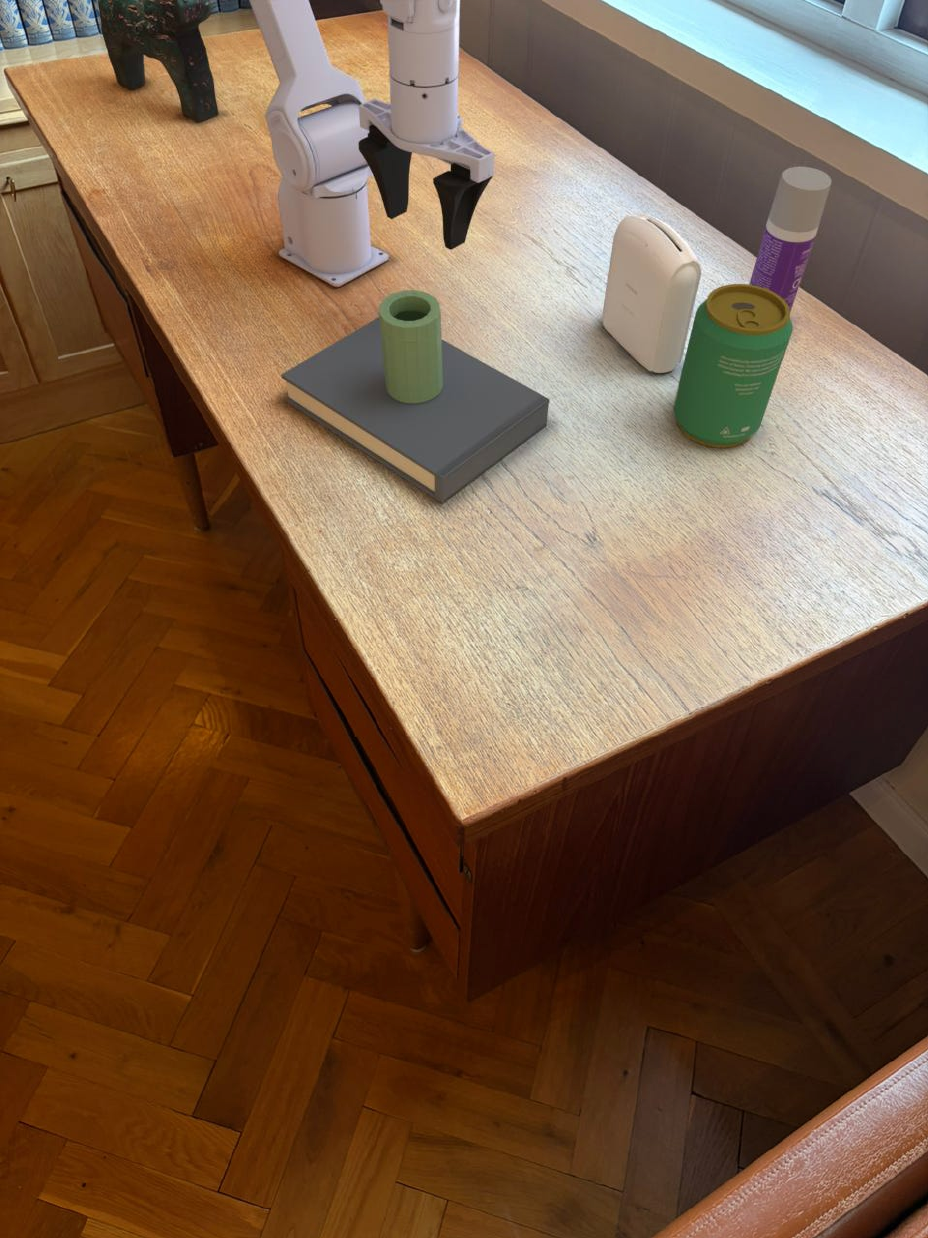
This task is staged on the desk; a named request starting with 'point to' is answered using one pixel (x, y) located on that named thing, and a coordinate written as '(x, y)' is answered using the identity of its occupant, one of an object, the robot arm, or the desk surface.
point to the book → (417, 412)
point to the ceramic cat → (161, 47)
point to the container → (791, 231)
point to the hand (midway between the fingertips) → (425, 229)
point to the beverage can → (731, 364)
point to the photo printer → (650, 291)
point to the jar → (411, 345)
